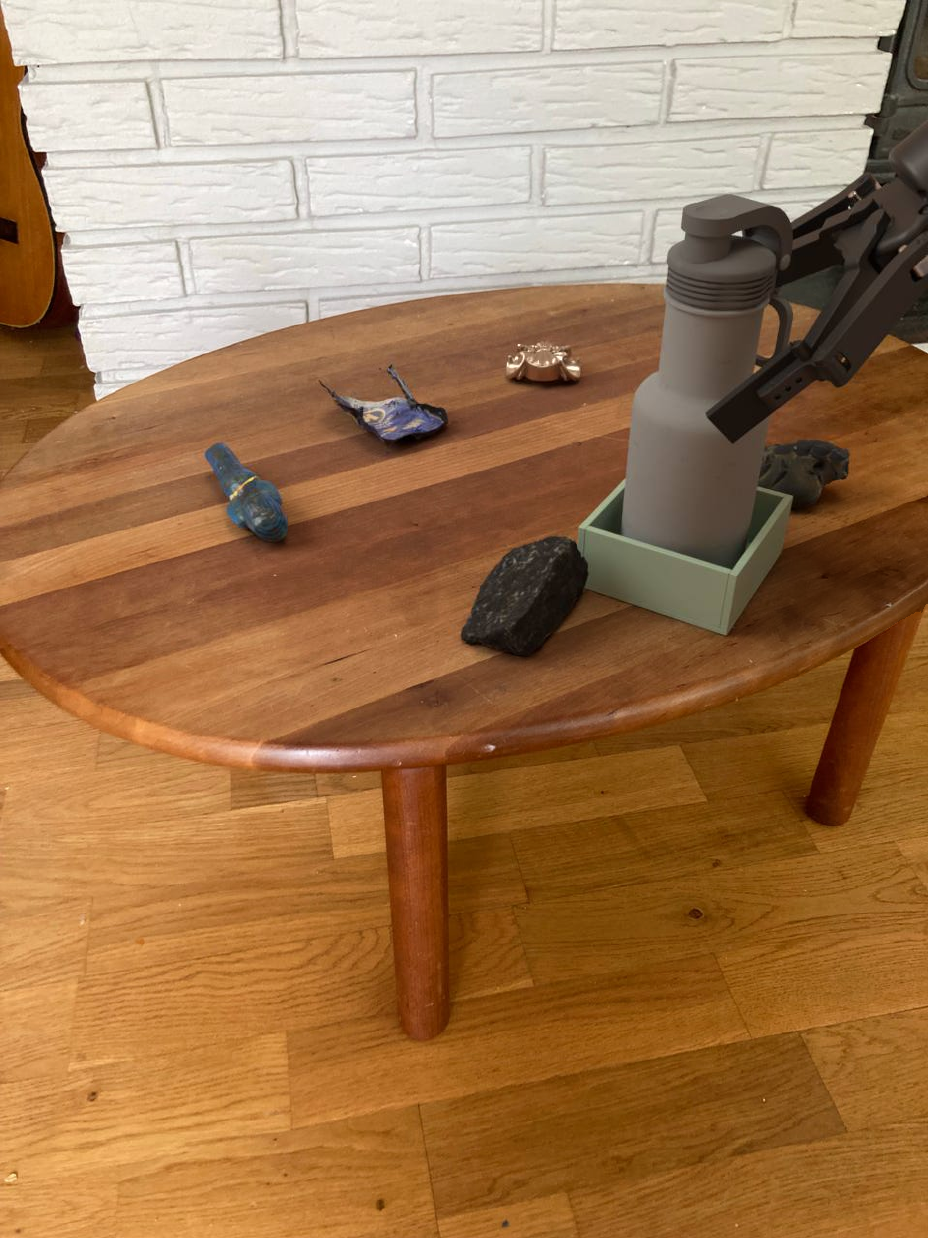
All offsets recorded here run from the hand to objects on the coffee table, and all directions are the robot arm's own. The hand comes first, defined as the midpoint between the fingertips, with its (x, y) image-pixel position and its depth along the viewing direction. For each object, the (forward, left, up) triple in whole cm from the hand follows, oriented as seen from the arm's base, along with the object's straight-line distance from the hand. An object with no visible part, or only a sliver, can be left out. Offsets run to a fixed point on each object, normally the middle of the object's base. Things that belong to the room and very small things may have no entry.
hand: (701, 383), depth 74 cm
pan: (0, 0, -16) cm, 16 cm away
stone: (-2, -15, -16) cm, 22 cm away
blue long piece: (+36, +11, -16) cm, 41 cm away
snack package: (+34, -8, -16) cm, 39 cm away
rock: (+7, +12, -16) cm, 21 cm away
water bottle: (0, 0, -16) cm, 16 cm away
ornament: (+26, -26, -16) cm, 41 cm away
